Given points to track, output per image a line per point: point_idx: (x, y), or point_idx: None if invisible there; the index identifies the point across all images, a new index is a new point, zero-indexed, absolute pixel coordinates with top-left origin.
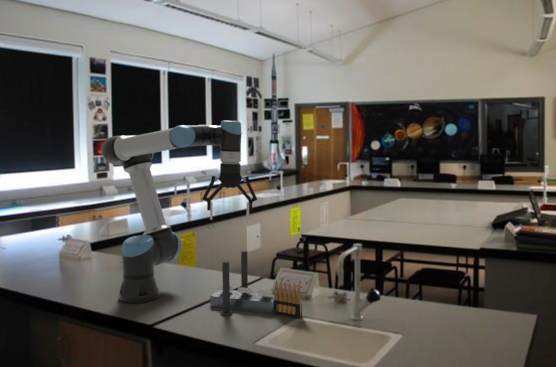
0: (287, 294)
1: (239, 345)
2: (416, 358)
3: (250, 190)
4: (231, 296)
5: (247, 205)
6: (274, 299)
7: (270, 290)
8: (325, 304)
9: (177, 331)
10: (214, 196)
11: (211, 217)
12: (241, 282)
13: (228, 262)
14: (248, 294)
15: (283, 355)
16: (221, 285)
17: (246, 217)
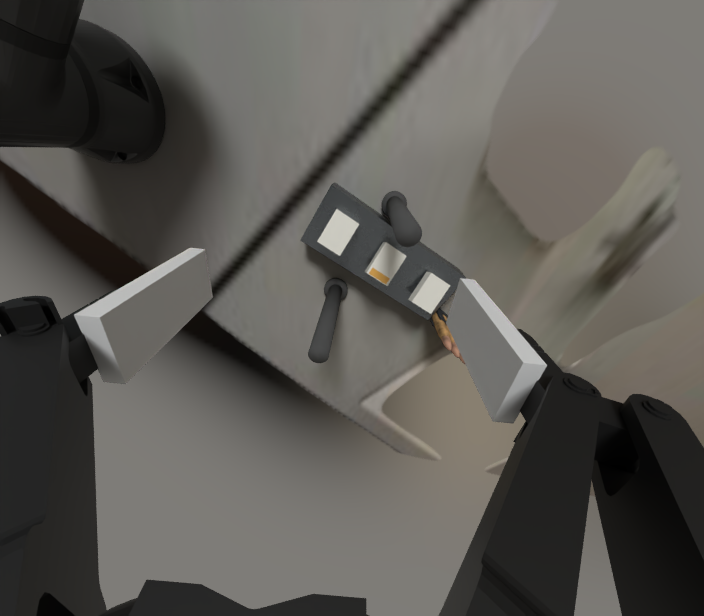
0: None
1: (338, 404)
2: None
3: (633, 602)
4: (351, 257)
5: (484, 398)
6: (434, 326)
7: (441, 298)
8: (559, 287)
9: (248, 342)
10: (90, 440)
11: (199, 304)
12: (388, 212)
13: (325, 359)
14: None
15: (386, 437)
16: (325, 246)
17: (460, 290)
